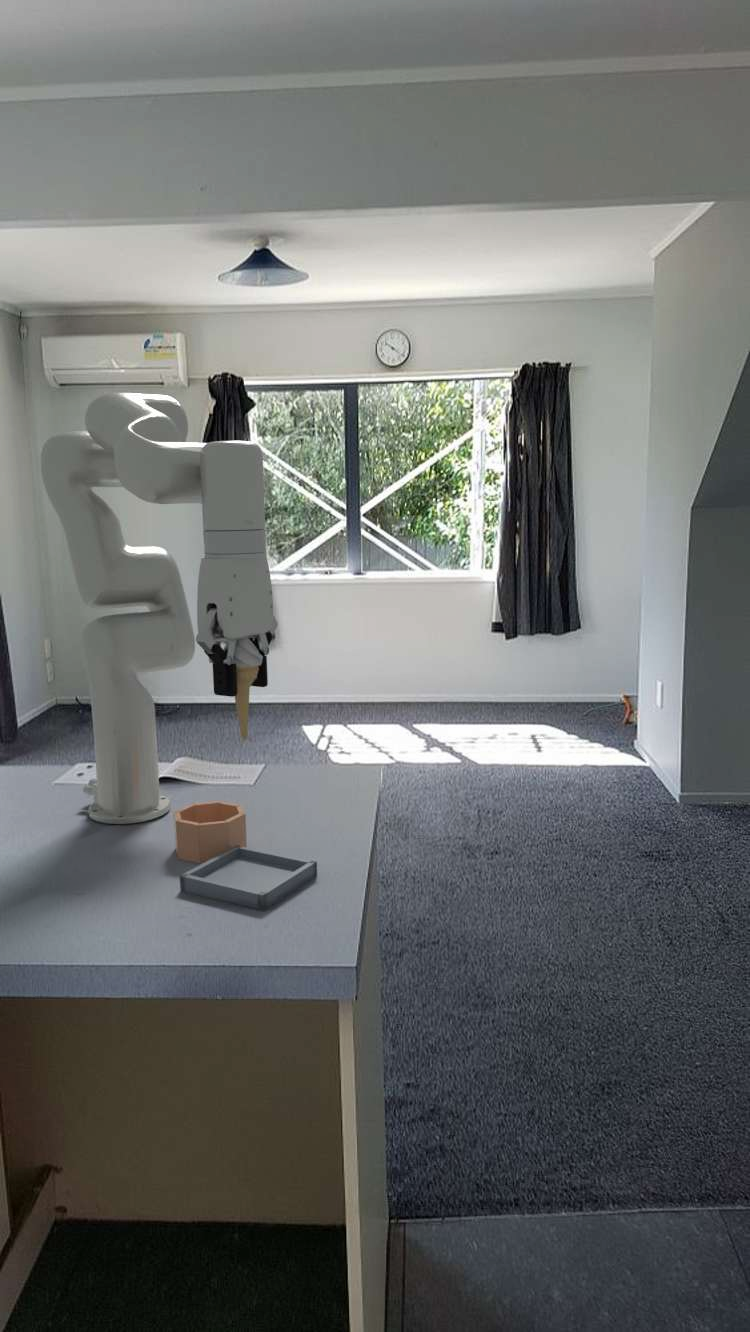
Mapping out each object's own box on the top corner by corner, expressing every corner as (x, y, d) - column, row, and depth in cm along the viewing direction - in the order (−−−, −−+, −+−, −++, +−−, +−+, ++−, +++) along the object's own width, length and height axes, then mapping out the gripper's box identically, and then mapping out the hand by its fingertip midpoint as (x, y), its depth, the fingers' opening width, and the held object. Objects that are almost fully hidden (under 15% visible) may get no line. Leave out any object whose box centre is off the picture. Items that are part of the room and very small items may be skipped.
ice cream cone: (257, 745, 118) (252, 624, 115) (214, 744, 119) (208, 624, 116) (271, 734, 123) (267, 618, 120) (230, 733, 124) (225, 618, 121)
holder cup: (162, 855, 134) (160, 817, 133) (206, 833, 142) (204, 798, 141) (216, 867, 129) (214, 828, 128) (258, 844, 138) (257, 807, 137)
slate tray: (180, 890, 122) (179, 875, 122) (237, 858, 132) (237, 845, 132) (263, 910, 116) (263, 895, 115) (317, 875, 126) (316, 861, 126)
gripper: (252, 541, 126) (257, 676, 129) (163, 548, 111) (172, 701, 114) (299, 541, 122) (304, 680, 125) (215, 549, 107) (222, 707, 111)
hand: (241, 689), depth 120 cm, fingers closed on ice cream cone, 5 cm apart
